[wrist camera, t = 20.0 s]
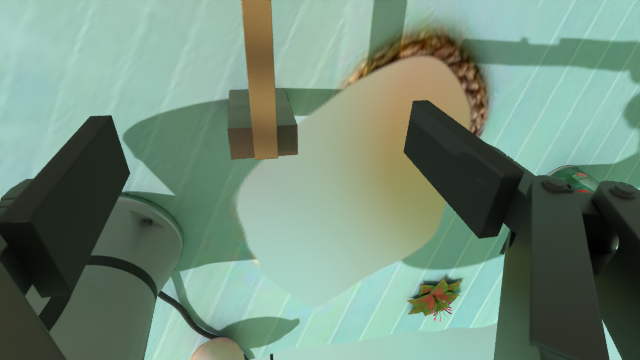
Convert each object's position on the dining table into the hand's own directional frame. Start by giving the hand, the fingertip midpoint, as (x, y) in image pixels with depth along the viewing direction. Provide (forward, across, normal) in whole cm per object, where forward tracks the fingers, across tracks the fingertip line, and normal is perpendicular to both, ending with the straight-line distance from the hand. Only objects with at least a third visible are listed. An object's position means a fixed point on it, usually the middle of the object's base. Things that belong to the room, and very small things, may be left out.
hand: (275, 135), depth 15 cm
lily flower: (+24, -31, +48) cm, 62 cm away
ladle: (+24, 0, -1) cm, 24 cm away
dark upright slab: (+24, 0, +7) cm, 25 cm away
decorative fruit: (+24, +10, +50) cm, 56 cm away
